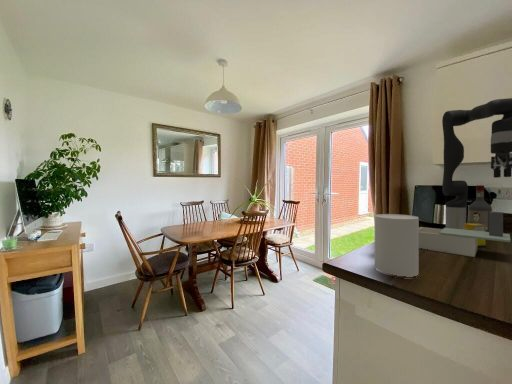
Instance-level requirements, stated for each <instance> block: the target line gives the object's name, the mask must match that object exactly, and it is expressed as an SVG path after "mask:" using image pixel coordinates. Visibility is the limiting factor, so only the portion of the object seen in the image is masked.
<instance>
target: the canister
mask: <svg viewBox="0 0 512 384" xmlns="http://www.w3.org/2000/svg"><path fill="white" fill-rule="evenodd" d="M419 219H420V218H419V216H415V215H410V214H409V215H408V214H399V213H397V214H396V213H394V214H393V213H381V214H378V213H377V214H375V215H374V268H375V267H376V268H377V269H379V270H381V271H384V272H386V273H389V274H393V275H397V276H406V277H413V276H417V275H418V274H419V275H420V273H419V269H420V268H419V258H420V257H419V251H420V250H419V249H420V248H419V228H420V227H419V224H420V223H419V222H420V221H419ZM419 275H418V276H419Z"/></svg>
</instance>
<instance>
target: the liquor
mask: <svg viewBox="0 0 512 384" xmlns="http://www.w3.org/2000/svg"><path fill="white" fill-rule="evenodd" d="M475 192H476V193H475V194H476V195H475V197H476V198H475V201H472V203H471V204H470V205H469V206H468V222H467V223H477V224H482V225H486V229H485V230H486V232H489V212H493V209H492V208H493V207H492V205H490V204H489V203H487V202H486V200H485V185H484V184H483V185H476V186H475Z"/></svg>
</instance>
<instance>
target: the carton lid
mask: <svg viewBox="0 0 512 384" xmlns="http://www.w3.org/2000/svg"><path fill="white" fill-rule="evenodd" d="M441 229H442V230H441V231H440V232H439V234H442V235H451V236H460V237H468V238H477V239H486V240H487V241H494V242H495V241H496V242H503V243H504V242H505V243H511V235H510V233H504V212H501V211H492V212H489V232H484V231H473V230H463V229H453V228H446V227H443V228H441Z"/></svg>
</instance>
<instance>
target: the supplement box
mask: <svg viewBox="0 0 512 384" xmlns="http://www.w3.org/2000/svg"><path fill="white" fill-rule="evenodd" d="M485 229H486V225H482V224H477V223H468V222H466V223H463V230H473V231H484V232H486V230H485ZM486 243H487V242H486V239H477V248H478V247H481V248H485V247H486Z"/></svg>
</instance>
